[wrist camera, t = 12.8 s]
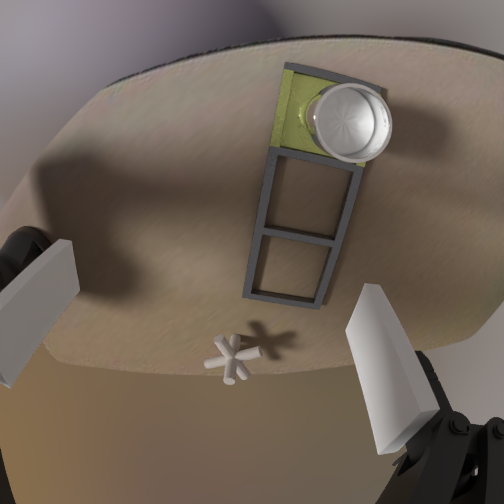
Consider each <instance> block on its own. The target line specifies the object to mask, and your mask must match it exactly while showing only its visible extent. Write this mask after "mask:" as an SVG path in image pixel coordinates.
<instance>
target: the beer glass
mask: <svg viewBox="0 0 504 504" xmlns="http://www.w3.org/2000/svg"><path fill="white" fill-rule="evenodd" d="M299 120H300V124H301V126H302V128H303V130H304V131H305V132H306V133H307V134H308V136H309V137H310V139H311V140H312V141H313V143H314V144H315V145H316V146H317V147H318V148H319V149H321V150H322V151H324V152H325V153H327V154H329V155H331V156H333V157H335V158H337V159H339V160H341V161H344V162H349V163H362V162H366V161H369V160H371V159H373V158H375V157H377V156H378V155H379V154H380V153H381V152H382V151H383V150H384V149H385V148H386V146H387V144H388V143H389V140H390V138H391V134H392V117H391V113H390V110H389V108H388V106H387V104H386V103H385V101H384V100H383V99H382V97H381V96H380V95H379V94H378V93H376V92H375V91H374V90H372V89H371V88H369V87H367V86H364V85H361V84H356V83H342V84H334V85H330V86H327V87H324V88H322V89H321V90H319V91H317V92H316V93H315V94H314V95H313V96H311V97H309V98H308V99H306V100H305V101H304V103H303V104H302V106H301V108H300V112H299Z"/></svg>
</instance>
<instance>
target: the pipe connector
mask: <svg viewBox="0 0 504 504" xmlns="http://www.w3.org/2000/svg"><path fill="white" fill-rule="evenodd" d="M240 340H241V337H240V336H239V335H238V334H233V335H231V337H230V343H228V341H227V340H226V338H225V337H224V335H222V334H219V335H217V336H216V337H215V338H214V343H215V344H216V345H217V347H218V348H219V349H220V351H221V352H222V354H223V355H221V356H217V357H212V358H208V359H205V360H204V365H205V367H206V368H207V369H209V368H214V367H219V366H223V365H226V367H225V373H224V380H223V381H224V383H226V384H228V385H232V384H234V383H235V379H236V372H237V374H238V375H239V376H240V377H241V379H243V380H246V379H248V378H249V376H250V373H249V371H248V370H247V368H246V367H245V366H244V364H243V363H242V361H245V360H249V359H253V358H257V357H261V356H263V352H262V349H261V347H260V346H257V347H253V348H249V349H245V350H241V351H239V348H240Z"/></svg>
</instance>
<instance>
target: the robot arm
mask: <svg viewBox="0 0 504 504" xmlns="http://www.w3.org/2000/svg"><path fill="white" fill-rule="evenodd" d="M79 292H80V286H79V281H78V276H77V270H76V265H75V259H74V252H73V245H72V241H70V240H64V239H59V240H57V241H56V242H55V243H54V244H53V245H51V244H50V243H49V241H48V240H47V239H46V238H45V237H44V236H43V235H42V234H41V233H39V232H38V231H37V230H35V229H33V228H30V227H21V228H19V229H17V230H16V231H14V232H13V233H12V234H10V236H9V237H8V239H7V240H6V242H5V243H4V245H3V246H2V248H1V249H0V383H1V384H3V385H5V386H7V387H9V388H11V387H12V385H13V384H14V382H15V381H16V379H17V378H18V376H19V375H20V373H21V372H22V370H23V368H24V367H25V365H26V364H27V362H28V361H29V359H30V358H31V356H32V355H33V353H34V352H35V350H36V349H37V348H38V346H39V345H40V343H41V342H42V340H43V339H44V338H45V336H46V335H47V333H48V332H49V331H50V329H51V328H52V327H53V325H54V324H55V323H56V321H57V320H58V319H59V317H60V316H61V315H62V313H63V312H64V311H65V309H66V308H67V307H68V305H69V304H70V303H71V302H72V300H73V299H74V298H75V297H76V295H77V294H78V293H79ZM345 331H346V335H347V338H348V341H349V345H350V348H351V351H352V355H353V358H354V362H355V365H356V369H357V372H358V376H359V379H360V383H361V387H362V390H363V394H364V398H365V402H366V406H367V410H368V413H369V418H370V422H371V425H372V429H373V434H374V439H375V443H376V447H377V451H378V454H386V453H393V452H397V451H398V450H399V449H400V448H401V447H402V446H404V444H405V445H406V448H407V452H405V453H404V454H403V455H402V456H401V457H400V458H398V459H397V460H396V461H395V462H394V463H393V464H392V465H393V466H395V465H396V464H398V463H399V464H398V466H397V468H396V470H395V472H394V473H393V475H392V477H391V479H390V481H389V482H388V484H387V486H386V487H385V489H384V491H383V493H382V494H381V495H380V497H379V499H378V500H377V502H376V503H375V504H504V420H503V419H501V418H499V417H493V418H492V419H490V420H489V421H488V422H487V423H486V424H485V425H476V424H470V422H469V420H468V419H467V417H466V416H464V415H463V414H461V413H459V412H456V411H453V410H452V408H451V406H450V403H449V401H448V399H447V397H446V395H445V392H444V390H443V388H442V386H441V383H440V382H439V381H438V377H437V375H436V373H435V372H434V369H433V367H432V365H431V363H430V361H429V359H428V358H427V357H426V356H425V355H424V354H423V353H422V352H421V351H414V349H413V347H412V345H411V343H410V341H409V339H408V337H407V335H406V333H405V331H404V329H403V327H402V325H401V323H400V321H399V319H398V317H397V316H396V314H395V312H394V310H393V308H392V306H391V304H390V302H389V301H388V299H387V297H386V295H385V293H384V291H383V290H382V288H381V286H380V285H376V284H368V283H365V284H364V286H363V289H362V291H361V294H360V297H359V299H358V302H357V304H356V307H355V309H354V311H353V314H352V316H351V319H350V321H349V323H348V326H347V328H346V330H345ZM476 468H478V474H477V475H476V476H475V469H476ZM0 504H16V503H15V500H14V497H13V494H12V491H11V488H10V485H9V481H8V477H7V474H6V470H5V466H4V462H3V458H2V453H1V449H0Z"/></svg>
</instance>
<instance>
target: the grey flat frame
mask: <svg viewBox="0 0 504 504" xmlns="http://www.w3.org/2000/svg"><path fill="white" fill-rule="evenodd" d="M297 73H299V74H297ZM293 74H294V75H293ZM302 74H304V75H302ZM306 75H309V76H306ZM311 76H313V77H311ZM315 77H317V78H315ZM319 78H321V79H319ZM292 79H293V80H292ZM323 79H325V80H323ZM327 80H329V81H327ZM331 81H333V82H331ZM335 82H337V83H335ZM339 83H341V84H342V83H356V84H361V85H364V86H367V87H369V88H371V89H372V90H374V91H375V92H376V93H378V94H379V95H380V96H381V90H382V87H379V86H376V85H373V84H370V83H367V82H364V81H361V80H358V79H354V78H351V77H347V76H344V75H340V74H337V73H333V72H329V71H325V70H321V69H317V68H313V67H308V66H304V65H299V64H294V63H289V62H285V66H284V71H283V76H282V82H281V87H280V93H279V98H278V103H277V109H276V114H275V120H274V125H273V130H272V136H271V141H270V147H269V152H268V157H267V163H266V168H265V174H264V179H263V184H262V190H261V195H260V201H259V206H258V212H257V217H256V223H255V228H254V233H253V239H252V244H251V250H250V255H249V261H248V266H247V272H246V277H245V283H244V288H243V294H242V298H248V299H254V300H260V301H266V302H272V303H279V304H285V305H291V306H298V307H305V308H312V309H318V310H319V309H320V307H321V304H322V301H323V298H324V296H325V293H326V290H327V287H328V284H329V281H330V279H331V276H332V273H333V270H334V267H335V264H336V261H337V258H338V255H339V252H340V249H341V246H342V242H343V239H344V236H345V233H346V230H347V226H348V223H349V220H350V216H351V213H352V210H353V206H354V203H355V199H356V196H357V192H358V188H359V185H360V181H361V177H362V174H363V170H364V167H365V164H366V162H362V163H349V162H344V161H341V160H339V159H336V158H335V157H334V158H332V157H333V156H331V155H329V154H327V153H325V152H324V151H322V150H321V149H319V148H318V147H317V146H316V145H315V144H314V143H313V141H312V140H311V139H310V137H309V136H308V134H307V133H306V132H305V131H304V130H303V128H302V126H301V124H300V120H299V112H300V108H301V106H302V104H303V103H304V101H305V100H306V99H308V98H309V97H311V96H313V95H314V94H315V93H316V92H317V91H319V90H321V89H322V88H324V87H327V86H330V85H334V84H339ZM291 84H292V86H291ZM290 90H291V91H290ZM289 95H290V96H289ZM288 100H289V102H288ZM287 106H288V107H287ZM286 111H287V112H286ZM285 116H286V117H285ZM284 121H285V123H284ZM283 127H284V128H283ZM282 132H283V133H282ZM281 137H282V138H281ZM280 142H281V144H280ZM281 146H284V147H281ZM286 147H289V148H286ZM291 148H294V149H291ZM296 149H299V150H296ZM301 150H303V151H301ZM305 151H308V152H305ZM310 152H312V153H310ZM314 153H317V154H314ZM319 154H321V155H319ZM278 155H280V156H285V157H290V158H295V159H300V160H305V161H310V162H314V163H319V164H323V165H327V166H332V167H336V168H340V169H344V170H348V171H351V174H350V178H349V182H348V186H347V190H346V193H345V197H344V201H343V204H342V208H341V212H340V215H339V219H338V222H337V226H336V229H335V232H334V236H333V237H329V236H324V235H319V234H314V233H308V232H303V231H298V230H292V229H287V228H282V227H276V226H271V225H265V219H266V214H267V209H268V204H269V199H270V193H271V188H272V183H273V178H274V173H275V168H276V163H277V157H278ZM323 155H326V156H323ZM327 156H330V157H327ZM262 234H263V235H269V236H275V237H280V238H286V239H291V240H297V241H302V242H307V243H313V244H318V245H323V246H329V247H330V249H329V252H328V255H327V259H326V262H325V265H324V268H323V271H322V274H321V277H320V280H319V283H318V286H317V289H316V292H315V295H314V298H313V299H309V298H303V297H296V296H290V295H284V294H277V293H271V292H265V291H259V290H253V289H252V284H253V279H254V274H255V269H256V264H257V259H258V254H259V249H260V244H261V239H262Z"/></svg>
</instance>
